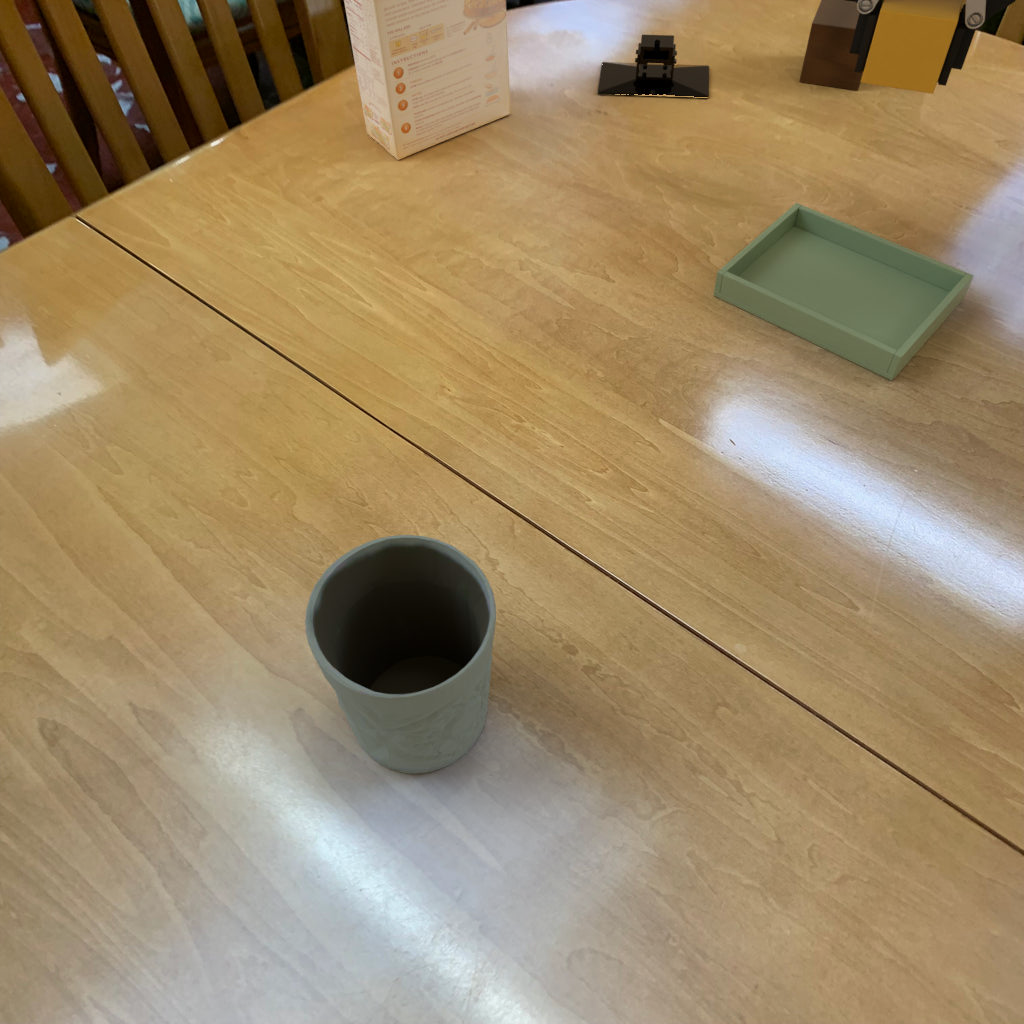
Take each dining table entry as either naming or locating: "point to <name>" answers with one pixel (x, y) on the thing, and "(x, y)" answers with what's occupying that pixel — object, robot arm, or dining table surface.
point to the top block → (911, 43)
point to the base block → (832, 46)
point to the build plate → (654, 72)
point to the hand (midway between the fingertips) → (902, 67)
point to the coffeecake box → (429, 68)
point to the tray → (843, 289)
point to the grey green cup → (406, 648)
